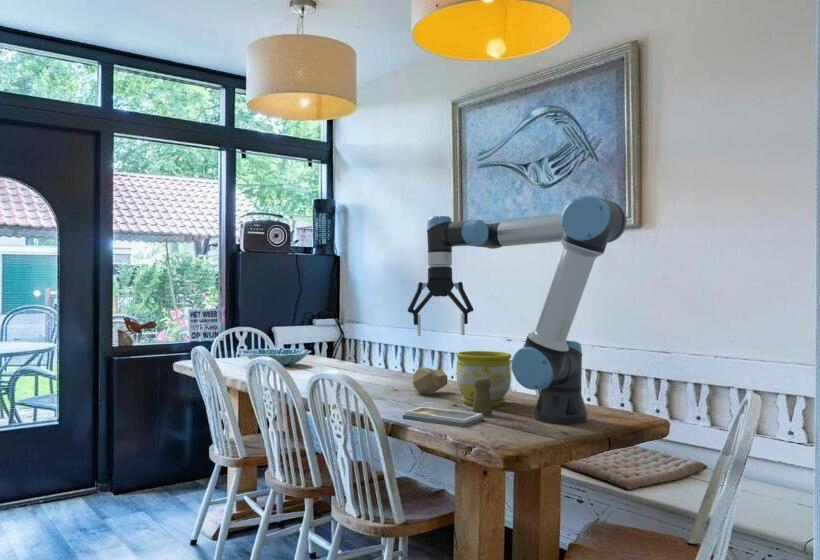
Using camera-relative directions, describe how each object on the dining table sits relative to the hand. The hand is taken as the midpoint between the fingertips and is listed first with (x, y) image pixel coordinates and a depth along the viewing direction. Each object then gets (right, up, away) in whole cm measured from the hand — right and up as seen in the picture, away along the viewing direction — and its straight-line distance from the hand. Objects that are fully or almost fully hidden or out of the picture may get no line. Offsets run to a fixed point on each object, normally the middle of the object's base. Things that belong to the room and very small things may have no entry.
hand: (440, 335), depth 197 cm
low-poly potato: (-2, -24, +32) cm, 40 cm away
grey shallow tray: (0, -23, -12) cm, 26 cm away
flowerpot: (+15, -24, +14) cm, 31 cm away
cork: (+12, -24, -5) cm, 27 cm away
